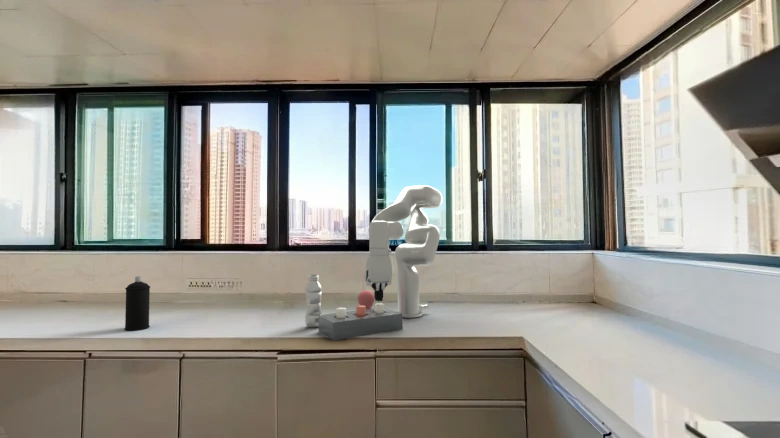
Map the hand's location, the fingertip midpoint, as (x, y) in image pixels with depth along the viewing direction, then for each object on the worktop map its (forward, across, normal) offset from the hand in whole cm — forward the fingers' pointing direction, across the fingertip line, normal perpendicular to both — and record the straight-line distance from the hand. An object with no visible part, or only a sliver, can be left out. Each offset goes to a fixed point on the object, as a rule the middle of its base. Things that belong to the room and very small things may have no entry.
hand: (378, 300), depth 148 cm
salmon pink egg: (+8, +7, 0) cm, 11 cm away
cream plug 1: (+8, +15, 0) cm, 17 cm away
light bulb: (+10, -4, -17) cm, 21 cm away
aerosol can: (+12, +79, -49) cm, 94 cm away
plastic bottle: (+11, +20, -15) cm, 28 cm away
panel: (+11, +7, 0) cm, 13 cm away
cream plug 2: (+7, -1, 0) cm, 8 cm away
